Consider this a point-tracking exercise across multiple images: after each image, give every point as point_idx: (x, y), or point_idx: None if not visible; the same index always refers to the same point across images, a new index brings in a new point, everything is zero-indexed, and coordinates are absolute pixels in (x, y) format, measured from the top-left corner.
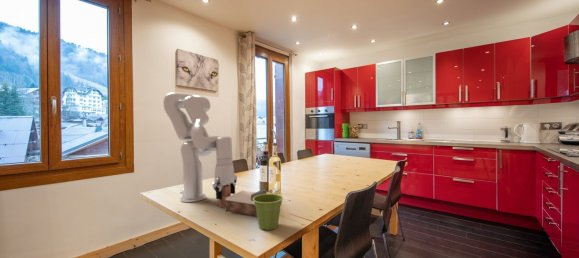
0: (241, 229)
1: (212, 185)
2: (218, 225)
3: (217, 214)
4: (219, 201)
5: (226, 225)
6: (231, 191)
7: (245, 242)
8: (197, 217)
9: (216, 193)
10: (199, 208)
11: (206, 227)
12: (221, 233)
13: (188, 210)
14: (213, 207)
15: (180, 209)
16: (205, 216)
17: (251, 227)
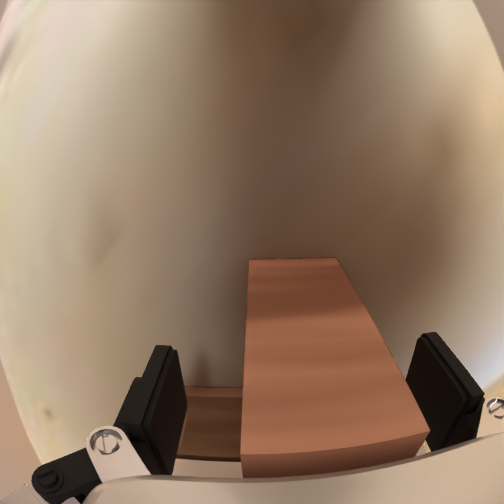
0: None
1: (6, 498)
2: (52, 426)
3: (108, 366)
4: (248, 288)
5: (76, 448)
6: (421, 378)
7: None
8: (8, 282)
9: (121, 414)
10: (104, 128)
11: (12, 394)
12: (40, 450)
13: (36, 91)
14: (190, 236)
15: (34, 17)
16: (43, 318)
17: None
